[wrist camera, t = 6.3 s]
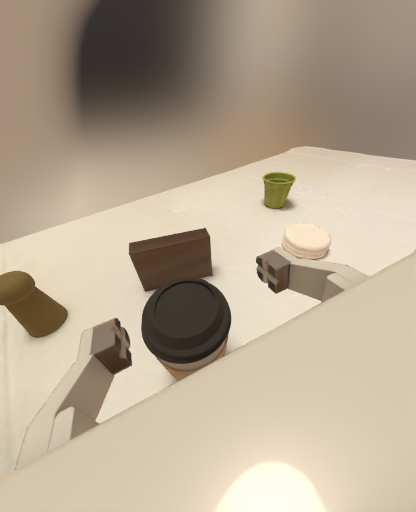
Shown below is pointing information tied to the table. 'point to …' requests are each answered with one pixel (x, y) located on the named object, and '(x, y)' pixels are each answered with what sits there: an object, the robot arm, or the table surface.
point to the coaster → (306, 241)
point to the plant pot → (277, 188)
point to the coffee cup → (186, 325)
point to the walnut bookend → (172, 258)
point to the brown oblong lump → (30, 304)
